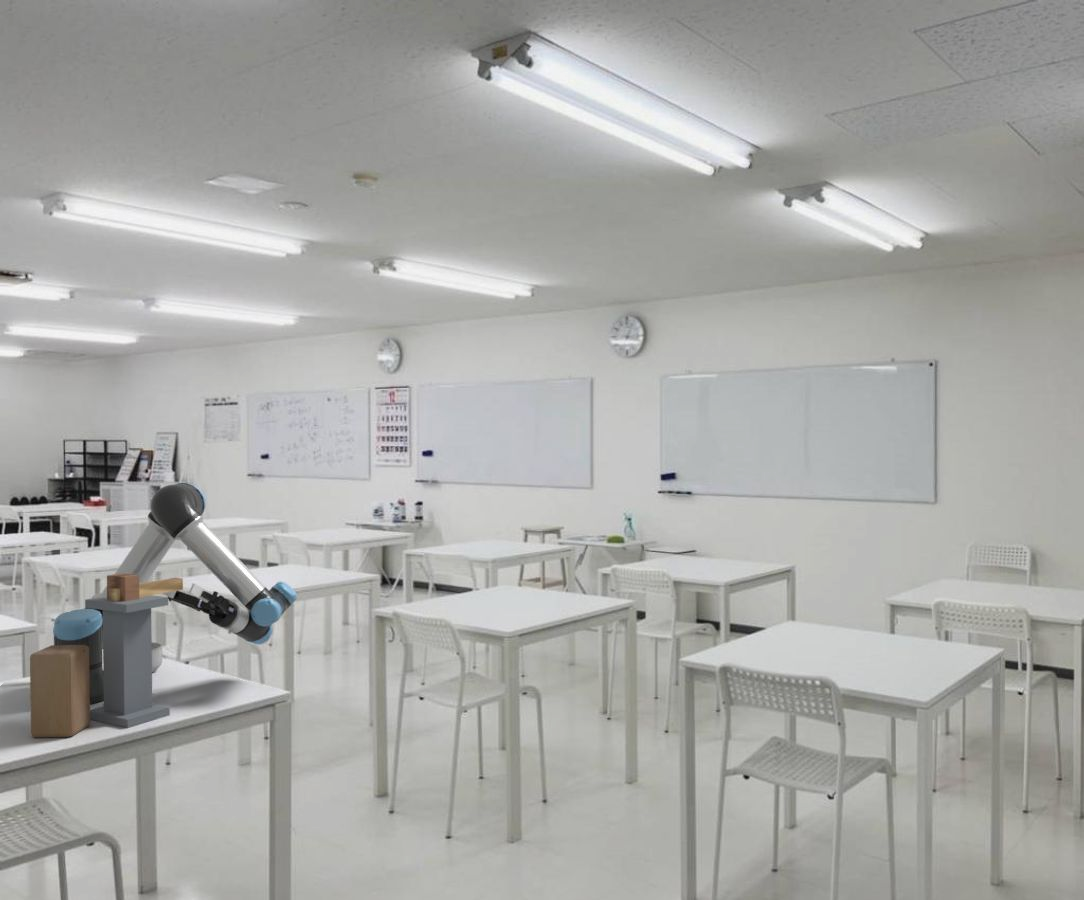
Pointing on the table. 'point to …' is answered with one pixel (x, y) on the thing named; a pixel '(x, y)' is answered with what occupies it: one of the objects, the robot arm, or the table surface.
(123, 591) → the marking gauge
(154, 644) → the teacup
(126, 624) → the tall stand
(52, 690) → the wooden block
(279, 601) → the robot arm
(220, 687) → the table surface
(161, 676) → the table surface
